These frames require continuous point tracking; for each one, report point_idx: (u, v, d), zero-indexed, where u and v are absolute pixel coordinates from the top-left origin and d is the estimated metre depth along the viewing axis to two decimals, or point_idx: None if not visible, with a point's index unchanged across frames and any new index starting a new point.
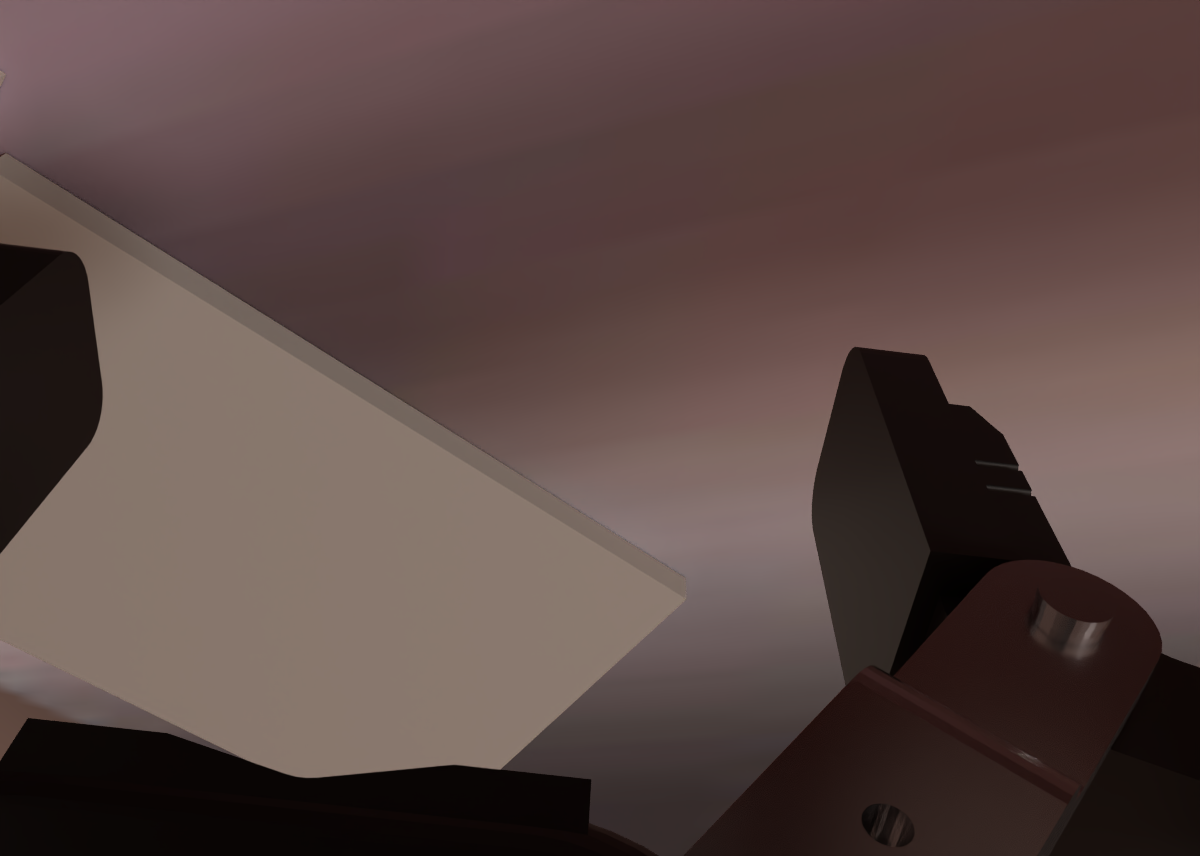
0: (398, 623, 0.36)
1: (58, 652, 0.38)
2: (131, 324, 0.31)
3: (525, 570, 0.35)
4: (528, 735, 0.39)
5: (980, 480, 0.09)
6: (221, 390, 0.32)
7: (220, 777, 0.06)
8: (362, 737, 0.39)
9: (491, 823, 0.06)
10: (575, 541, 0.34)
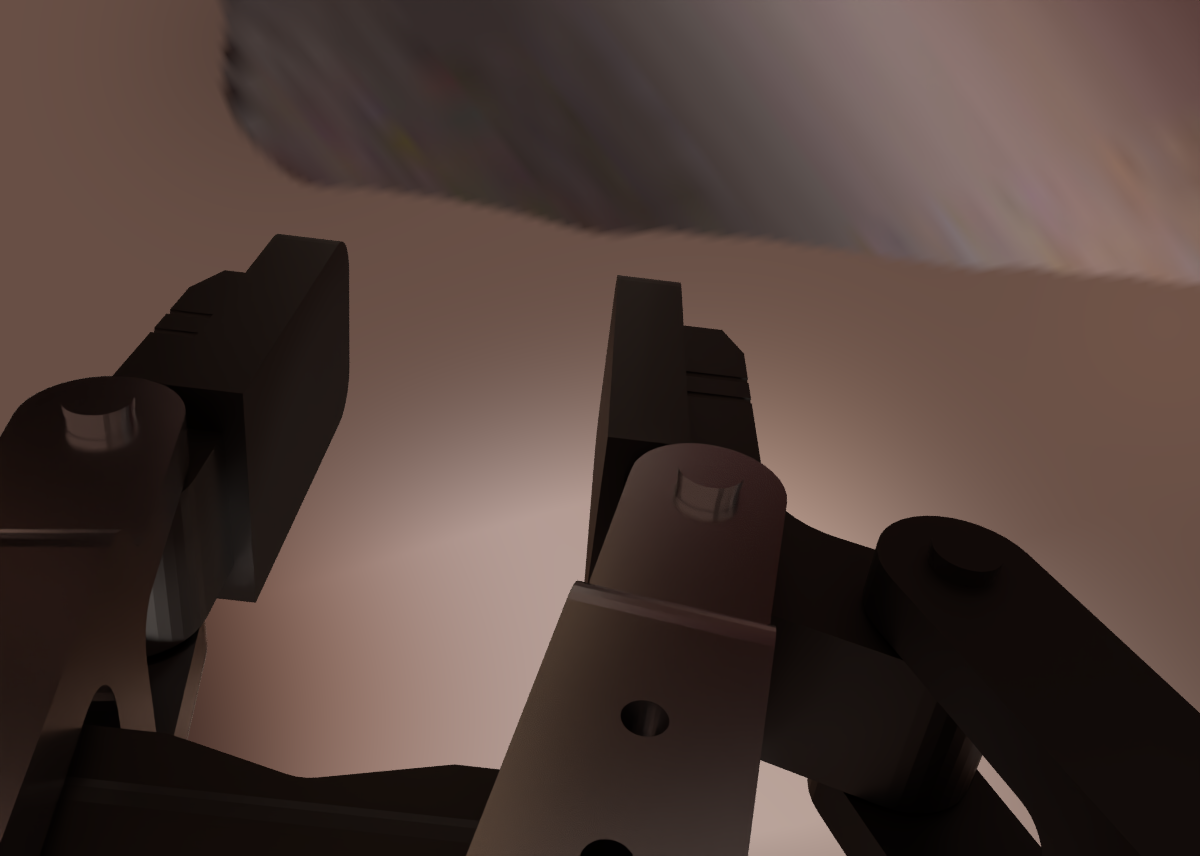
0: None
1: None
2: None
3: None
4: None
5: (684, 383, 0.10)
6: None
7: (218, 777, 0.06)
8: None
9: None
10: None
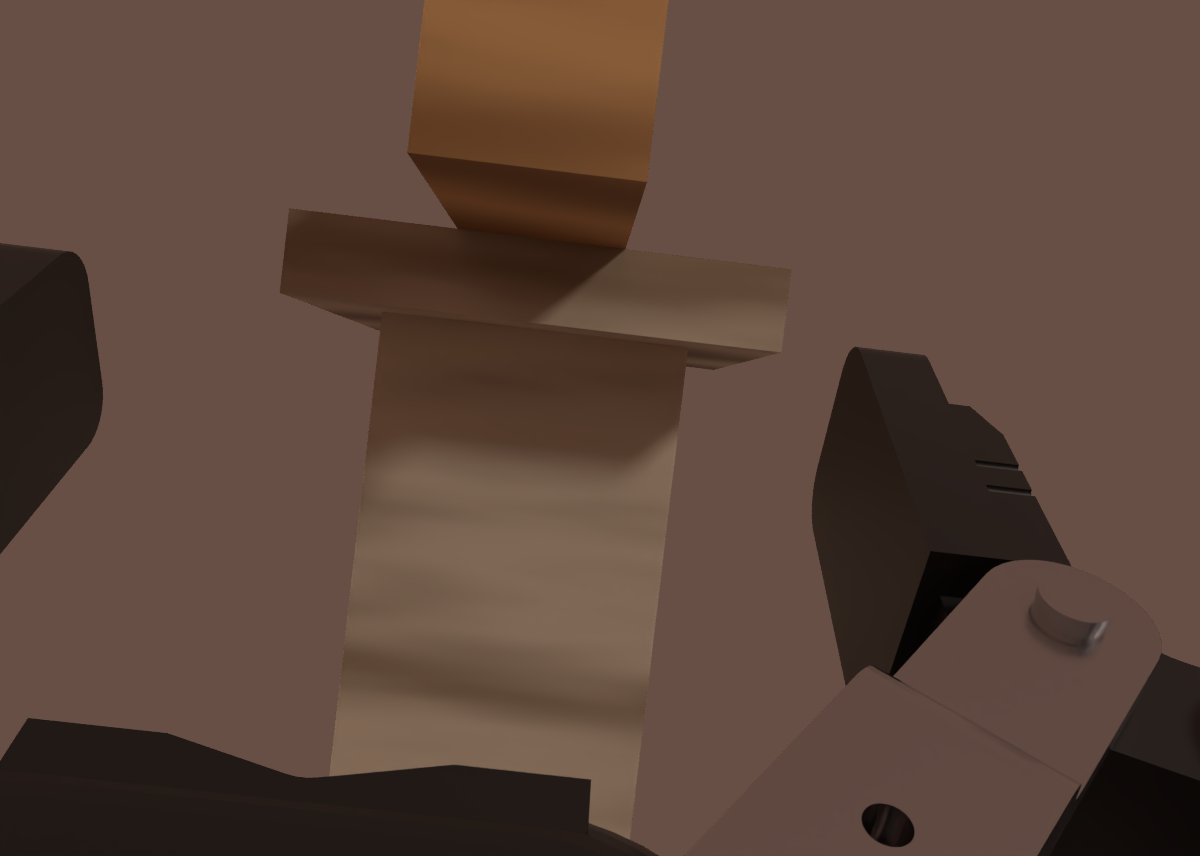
0: None
1: None
2: None
3: None
4: None
5: (980, 480, 0.09)
6: None
7: (218, 777, 0.06)
8: None
9: (491, 823, 0.06)
10: None
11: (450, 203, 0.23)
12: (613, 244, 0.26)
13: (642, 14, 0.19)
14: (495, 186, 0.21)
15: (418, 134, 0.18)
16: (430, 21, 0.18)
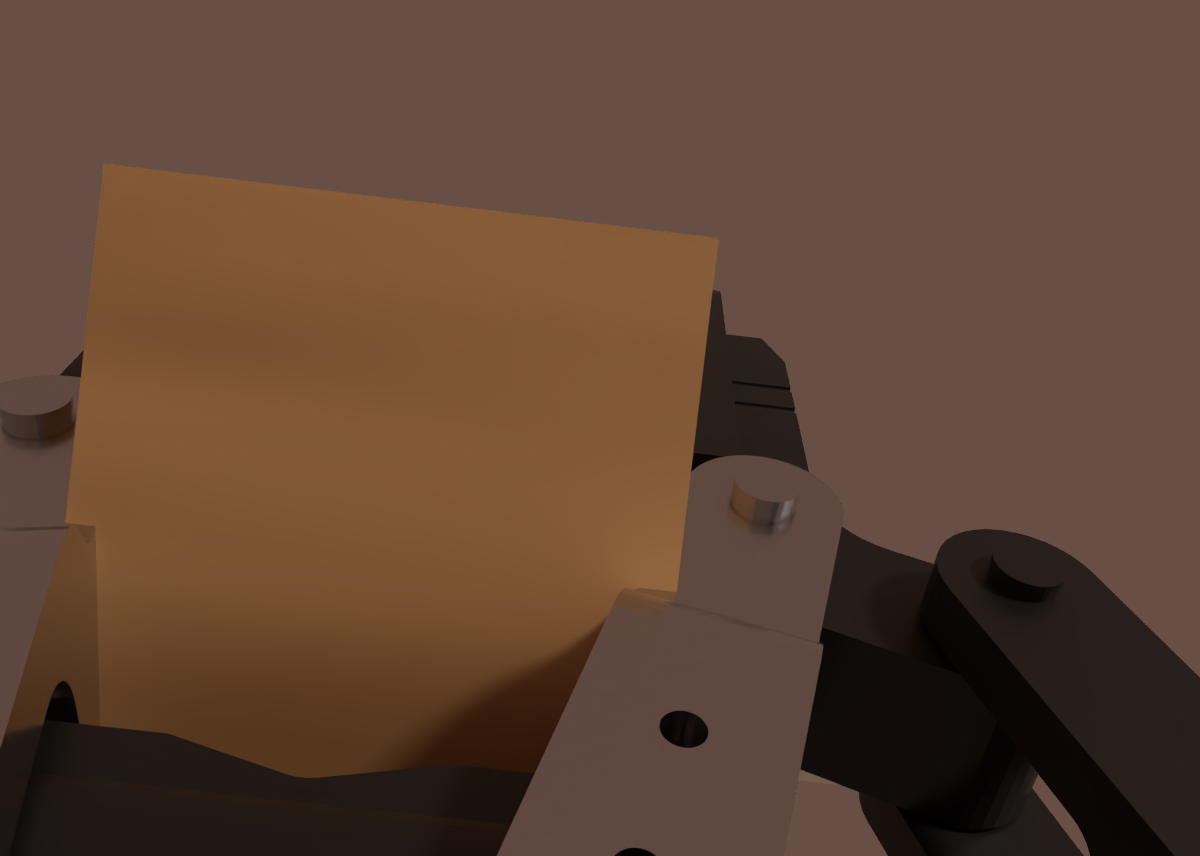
0: None
1: None
2: None
3: None
4: None
5: (731, 393, 0.10)
6: None
7: (220, 777, 0.06)
8: None
9: (491, 823, 0.06)
10: None
11: None
12: None
13: (635, 423, 0.07)
14: None
15: None
16: (96, 443, 0.07)
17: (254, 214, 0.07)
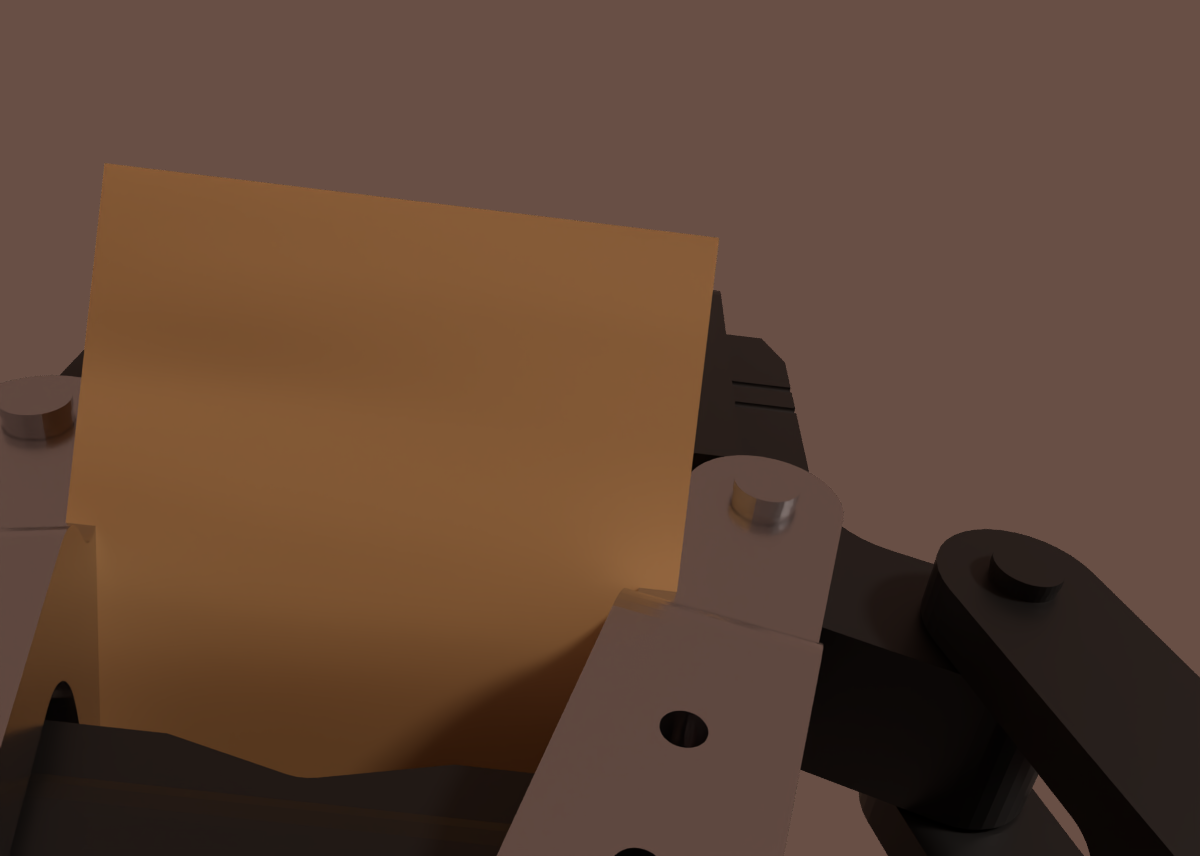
0: None
1: None
2: None
3: None
4: None
5: (730, 394, 0.10)
6: None
7: (218, 777, 0.06)
8: None
9: (491, 823, 0.06)
10: None
11: None
12: None
13: (635, 421, 0.07)
14: None
15: None
16: (97, 442, 0.07)
17: (255, 214, 0.07)
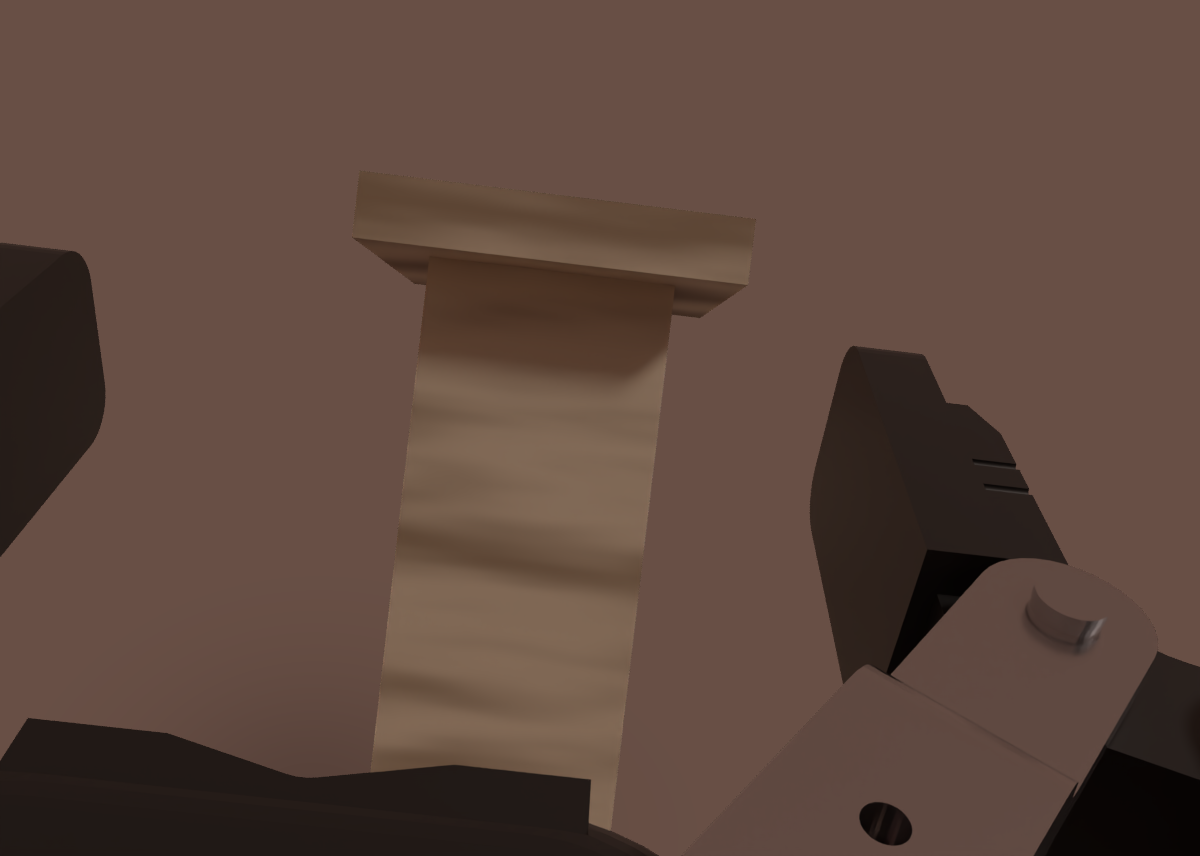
0: None
1: None
2: None
3: None
4: None
5: (977, 479, 0.09)
6: None
7: (220, 777, 0.06)
8: None
9: (490, 823, 0.06)
10: None
11: None
12: None
13: None
14: None
15: None
16: None
17: None
